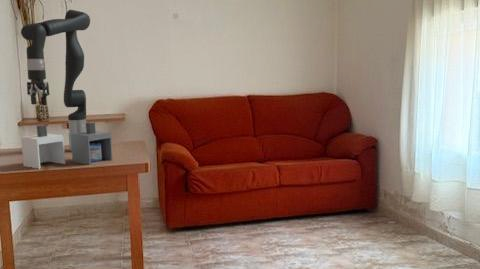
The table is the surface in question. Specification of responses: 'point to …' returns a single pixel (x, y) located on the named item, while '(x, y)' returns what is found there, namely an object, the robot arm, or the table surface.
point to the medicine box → (95, 152)
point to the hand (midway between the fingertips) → (39, 104)
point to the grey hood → (42, 148)
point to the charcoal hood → (83, 147)
